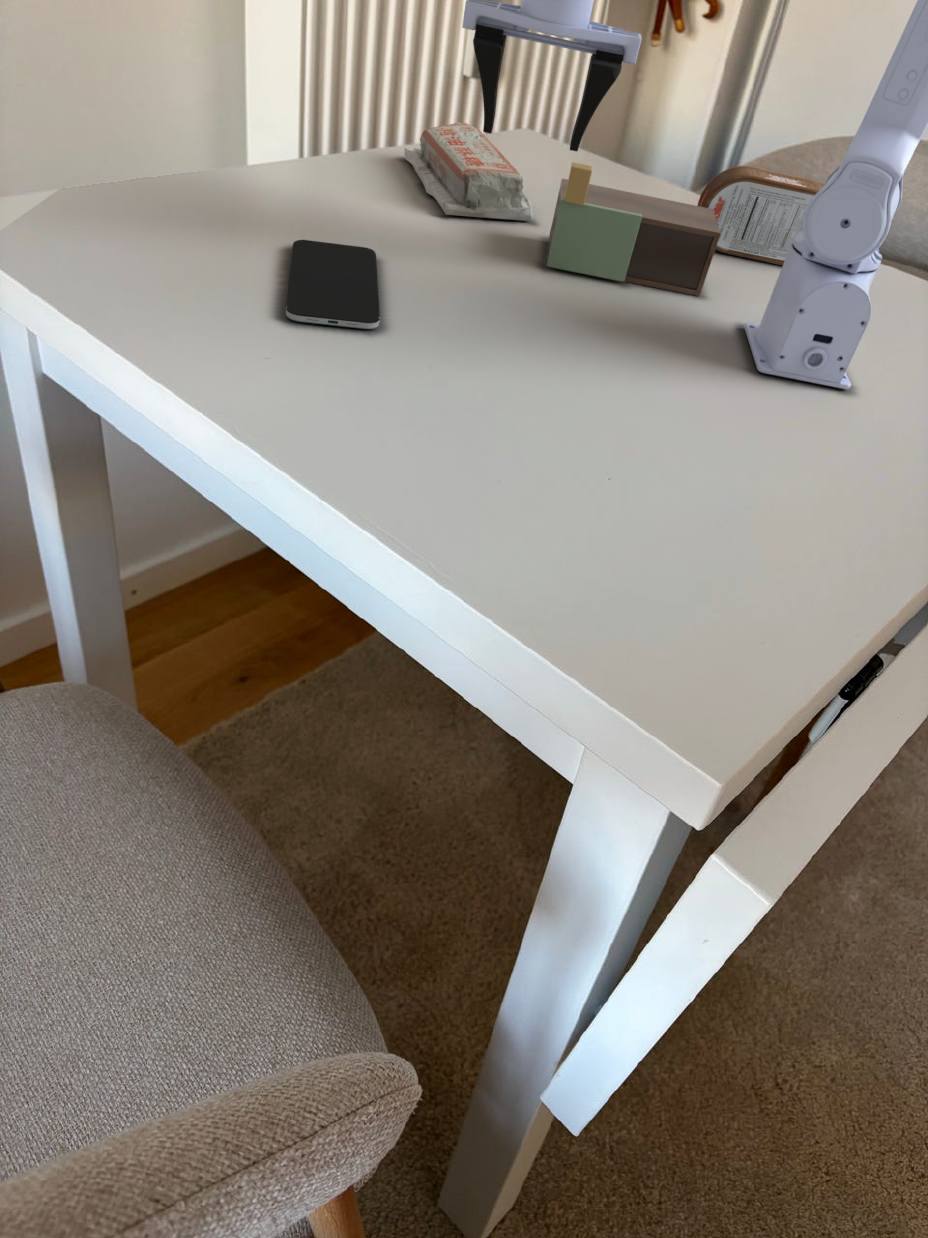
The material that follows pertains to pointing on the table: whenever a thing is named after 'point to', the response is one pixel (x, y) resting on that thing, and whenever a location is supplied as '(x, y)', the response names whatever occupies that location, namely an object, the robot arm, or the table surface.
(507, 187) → the packaged product
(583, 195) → the sliding door
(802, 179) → the tin
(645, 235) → the cupboard
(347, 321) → the smartphone
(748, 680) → the table surface
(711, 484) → the table surface
